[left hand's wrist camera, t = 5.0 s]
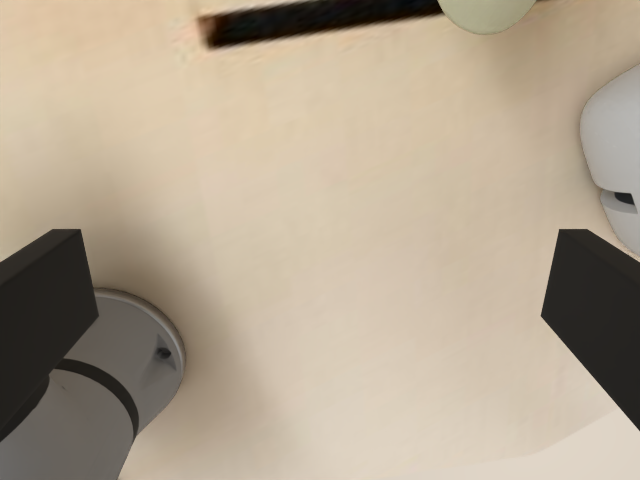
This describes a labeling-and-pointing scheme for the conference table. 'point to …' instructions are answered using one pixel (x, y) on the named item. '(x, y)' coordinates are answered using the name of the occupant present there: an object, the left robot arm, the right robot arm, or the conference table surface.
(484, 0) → the ballet flat
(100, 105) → the conference table surface
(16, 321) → the left robot arm
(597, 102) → the projector
